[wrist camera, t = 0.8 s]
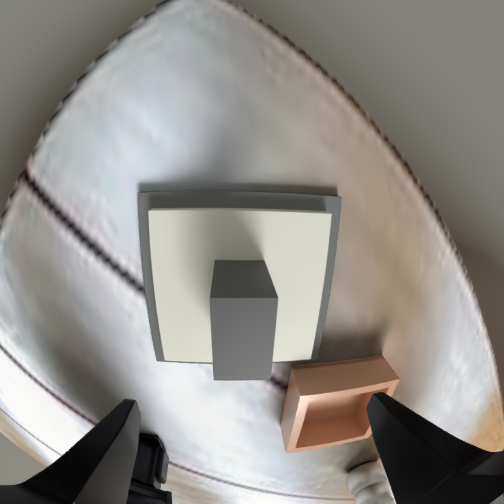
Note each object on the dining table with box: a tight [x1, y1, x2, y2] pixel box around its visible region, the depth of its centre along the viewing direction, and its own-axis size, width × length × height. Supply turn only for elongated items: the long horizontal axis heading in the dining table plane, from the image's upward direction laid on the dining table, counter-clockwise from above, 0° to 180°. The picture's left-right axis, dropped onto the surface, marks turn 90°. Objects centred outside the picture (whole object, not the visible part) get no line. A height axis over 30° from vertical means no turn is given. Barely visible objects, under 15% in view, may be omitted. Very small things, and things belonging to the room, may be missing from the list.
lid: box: [148, 208, 332, 380], centre depth 15 cm, size 11×11×6 cm
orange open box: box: [280, 355, 399, 453], centre depth 22 cm, size 9×9×4 cm
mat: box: [138, 191, 342, 364], centre depth 19 cm, size 13×13×1 cm
